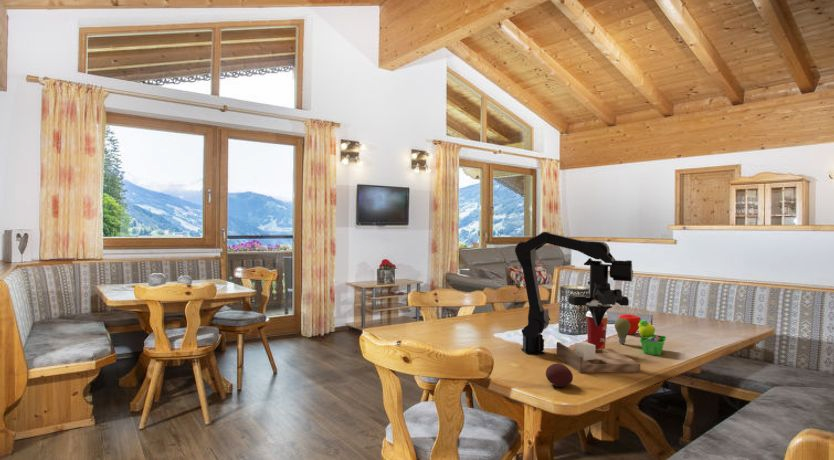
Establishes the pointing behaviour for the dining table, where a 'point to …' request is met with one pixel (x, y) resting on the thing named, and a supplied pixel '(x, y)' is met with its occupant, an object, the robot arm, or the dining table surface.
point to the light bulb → (622, 329)
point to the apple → (632, 322)
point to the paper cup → (596, 331)
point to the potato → (559, 375)
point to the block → (585, 350)
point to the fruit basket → (650, 339)
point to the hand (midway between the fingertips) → (597, 325)
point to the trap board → (597, 361)
